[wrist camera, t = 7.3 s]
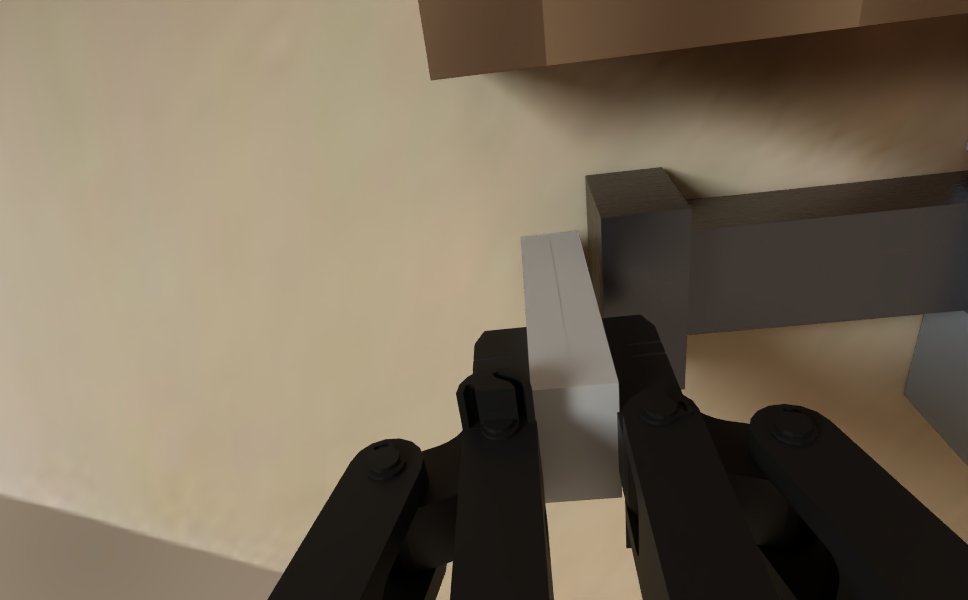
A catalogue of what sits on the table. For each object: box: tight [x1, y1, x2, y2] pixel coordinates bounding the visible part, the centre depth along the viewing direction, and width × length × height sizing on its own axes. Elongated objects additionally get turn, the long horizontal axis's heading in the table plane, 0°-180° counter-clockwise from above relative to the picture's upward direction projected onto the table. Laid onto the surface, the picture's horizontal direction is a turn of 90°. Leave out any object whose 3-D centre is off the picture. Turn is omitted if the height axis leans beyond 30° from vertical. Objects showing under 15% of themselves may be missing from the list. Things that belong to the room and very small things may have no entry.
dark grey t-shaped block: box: [585, 167, 968, 389], centre depth 16 cm, size 10×5×3 cm, turn 97°
